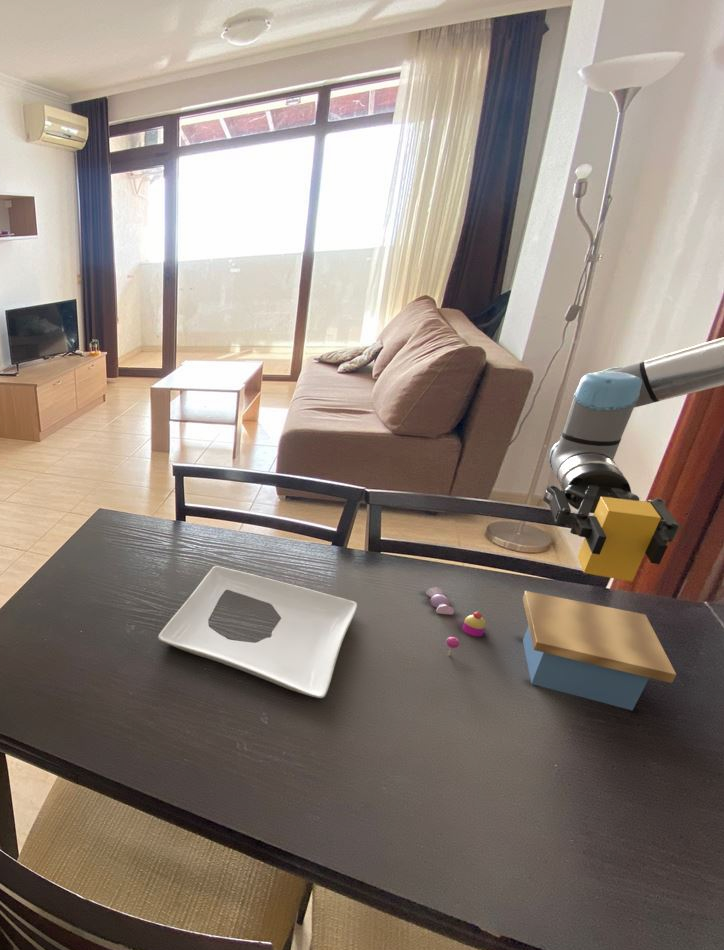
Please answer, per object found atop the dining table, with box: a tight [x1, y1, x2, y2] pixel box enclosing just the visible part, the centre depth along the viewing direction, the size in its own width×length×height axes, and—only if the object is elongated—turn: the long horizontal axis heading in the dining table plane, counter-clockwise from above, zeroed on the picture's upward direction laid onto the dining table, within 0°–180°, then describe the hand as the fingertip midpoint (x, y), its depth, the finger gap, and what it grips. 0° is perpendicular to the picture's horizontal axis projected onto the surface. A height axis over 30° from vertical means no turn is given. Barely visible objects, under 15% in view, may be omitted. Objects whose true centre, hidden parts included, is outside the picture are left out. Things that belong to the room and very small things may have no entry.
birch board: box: [522, 590, 677, 684], centre depth 79 cm, size 14×14×2 cm
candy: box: [425, 586, 487, 657], centre depth 93 cm, size 18×8×6 cm, turn 164°
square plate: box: [157, 565, 358, 699], centre depth 96 cm, size 27×27×4 cm
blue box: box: [522, 625, 650, 711], centre depth 81 cm, size 11×11×8 cm
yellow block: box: [577, 497, 661, 582], centre depth 75 cm, size 5×5×10 cm
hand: (628, 549), depth 71 cm, fingers closed on yellow block, 5 cm apart
